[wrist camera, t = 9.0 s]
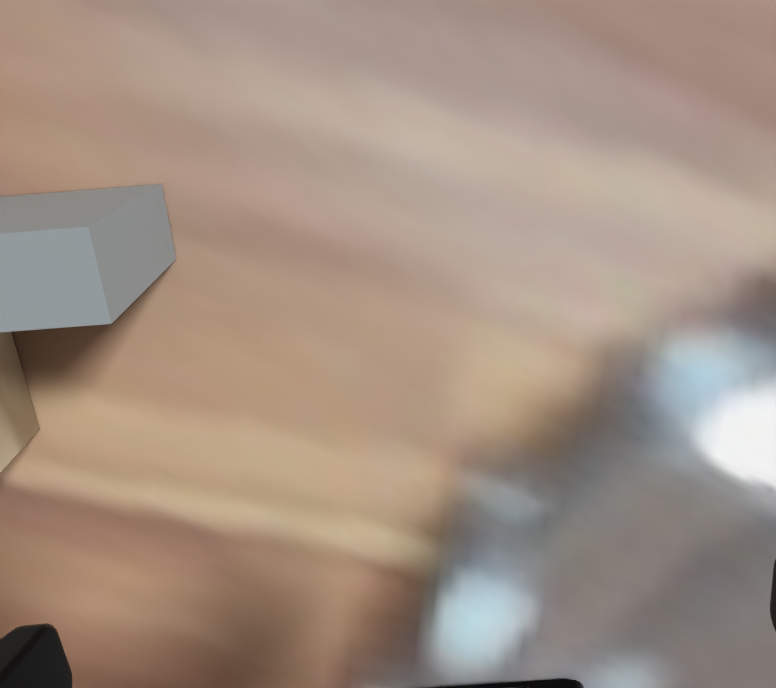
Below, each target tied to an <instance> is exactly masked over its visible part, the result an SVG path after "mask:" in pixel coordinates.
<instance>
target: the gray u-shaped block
mask: <svg viewBox="0 0 776 688" xmlns="http://www.w3.org/2000/svg"><path fill="white" fill-rule="evenodd" d="M175 260H176V256H175V251H174V245H173V240H172V235H171V230H170V225H169V220H168V214H167V209H166V204H165V199H164V194H163V188H162V184H154V185H141V186H129V187H116V188H104V189H91V190H79V191H67V192H54V193H42V194H29V195H17V196H4V197H0V332H12V331H25V330H38V329H51V328H64V327H77V326H90V325H103V324H112V323H113V322H114V321H115V320H116V319H117V318H118V317H119V316H120V315H121V314H122V313H123V312H124V311H125V310H126V309H127V308H128V307H129V306H130V305H131V304H132V303H133V302H134V301H135V300H136V299H137V298H138V297H139V296H140V295H141V294H142V293H143V292H144V291H145V290H146V289H147V288H148V287H149V286H150V285H151V284H152V283H153V282H154V281H155V280H156V279H157V278H158V277H159V276H160V275H161V274H162V273H163V272H164V271H165V270H166V269H167V268H168V267H169V266H170V265H171V264H172V263H173V262H174V261H175Z"/></svg>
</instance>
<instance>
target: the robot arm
mask: <svg viewBox="0 0 776 688" xmlns="http://www.w3.org/2000/svg"><path fill="white" fill-rule="evenodd" d="M770 615H771V619H772V623H773V626H774V628H775V631H776V560H775V563H774V569H773V580H772V590H771V600H770ZM0 688H72V673H71V669H70V667H69V664H68V661H67V658H66V655H65V652H64V649H63V646H62V643H61V641H60V638H59V635H58V632H57V630H56V629H55V628H54V626H52V625H50V624H35V625H25V626H20V627H17V628H15V629H14V630H12V631H11V632H10V633H8V634H7V635H6V636H4V637H3V638H1V639H0ZM453 688H584V687H583V685H582V684H581V683H580V682H578V681H576V680H557V681H542V682H527V683H512V684H498V685H483V686H468V687H453Z"/></svg>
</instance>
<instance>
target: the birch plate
mask: <svg viewBox="0 0 776 688" xmlns="http://www.w3.org/2000/svg"><path fill="white" fill-rule="evenodd" d="M39 430H40V428H39V425H38V421H37V418H36V414H35V411H34V408H33V404H32V401H31V397H30V394H29V391H28V387H27V384H26V380H25V377H24V374H23V370H22V367H21V363H20V360H19V357H18V353H17V350H16V347H15V343H14V340H13V336H12V333H11V332H0V473H1V471H2V470H3V469H4V468H5V467H6V466H7V465H8V464H9V463H10V462H11V460H12V459H13V458H14V457H15V456H16V455H17V454H18V453H19V452H20V451H21V449H22V448H23V447H24V446H25V445H26V444H27V443H28V442H29V441H30V440H31V439H32V437H33V436H34V435H35V434H36V433H37V432H38V431H39Z"/></svg>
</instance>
